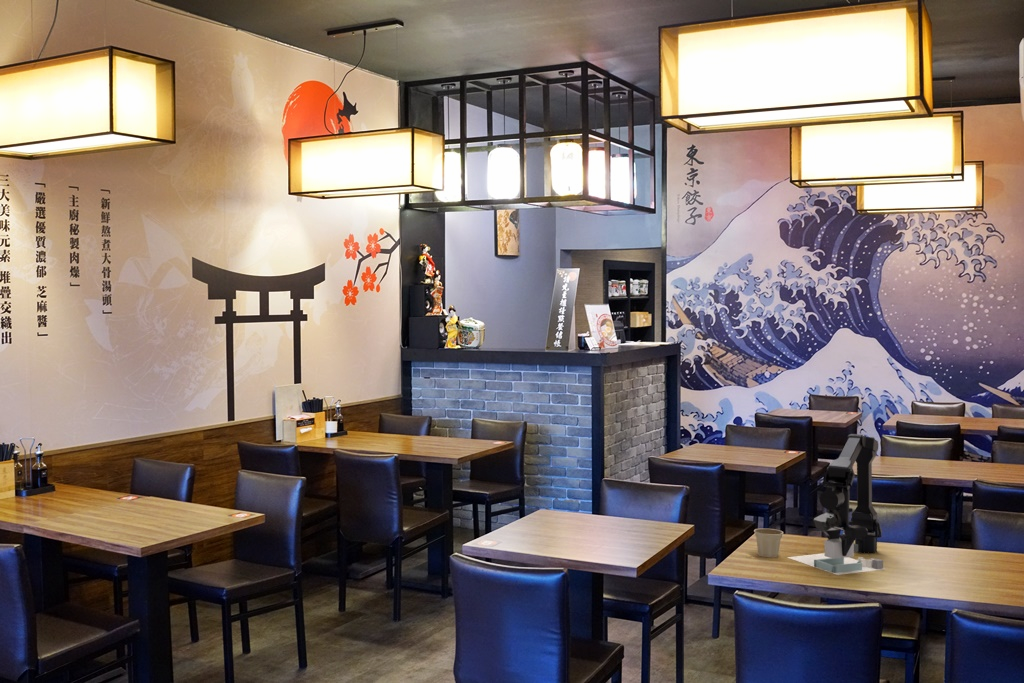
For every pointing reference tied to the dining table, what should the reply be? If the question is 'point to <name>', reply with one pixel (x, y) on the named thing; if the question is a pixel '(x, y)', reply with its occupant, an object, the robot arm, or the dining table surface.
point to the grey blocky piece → (877, 564)
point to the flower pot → (768, 542)
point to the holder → (829, 565)
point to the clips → (866, 562)
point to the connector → (838, 549)
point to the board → (810, 561)
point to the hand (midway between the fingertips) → (839, 554)
